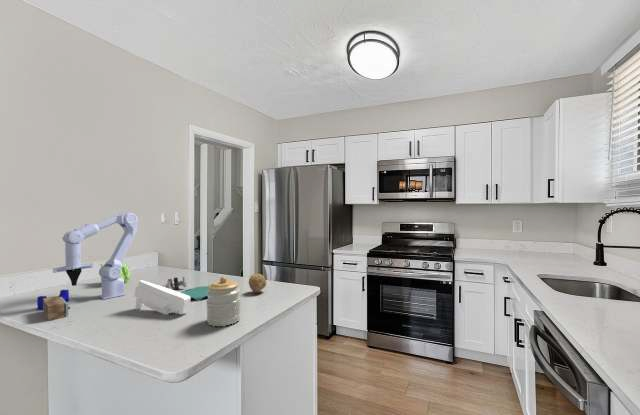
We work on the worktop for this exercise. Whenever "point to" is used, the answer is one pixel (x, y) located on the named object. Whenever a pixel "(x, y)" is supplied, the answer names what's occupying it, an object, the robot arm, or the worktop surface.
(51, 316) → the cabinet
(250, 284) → the natural sponge
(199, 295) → the teal cloth
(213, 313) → the jar
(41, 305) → the cable clip
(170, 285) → the bike brake
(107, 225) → the robot arm
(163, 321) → the worktop surface
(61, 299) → the door
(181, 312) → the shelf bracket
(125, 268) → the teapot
